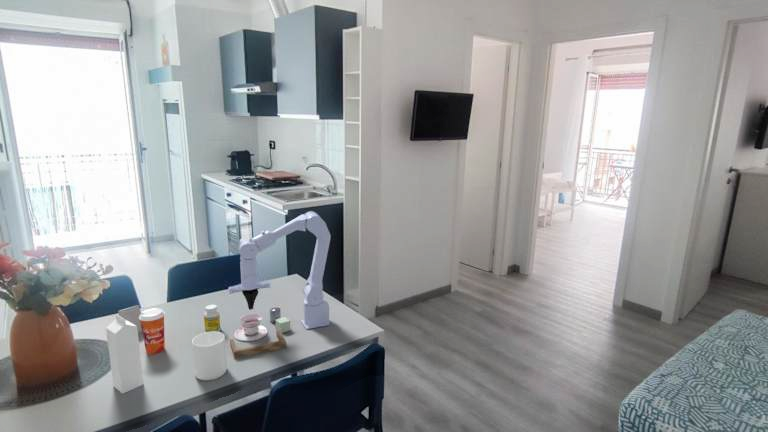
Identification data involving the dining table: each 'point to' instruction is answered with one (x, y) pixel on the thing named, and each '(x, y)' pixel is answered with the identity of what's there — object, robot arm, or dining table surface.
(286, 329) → the sage block
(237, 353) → the wooden cradle
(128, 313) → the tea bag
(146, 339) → the paper cup
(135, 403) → the dining table surface
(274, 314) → the grey canister
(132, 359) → the milk
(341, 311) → the dining table surface
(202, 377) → the mug
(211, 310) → the supplement bottle
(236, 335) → the teacup
